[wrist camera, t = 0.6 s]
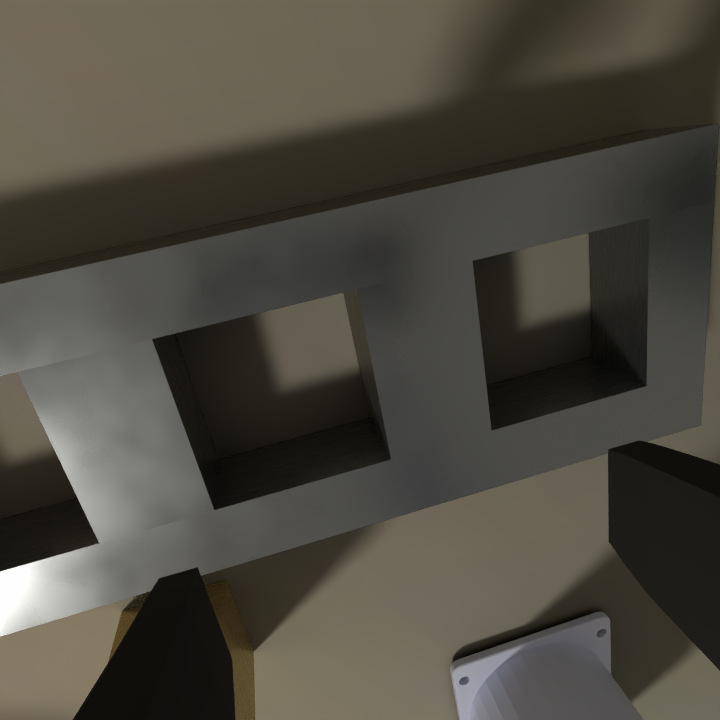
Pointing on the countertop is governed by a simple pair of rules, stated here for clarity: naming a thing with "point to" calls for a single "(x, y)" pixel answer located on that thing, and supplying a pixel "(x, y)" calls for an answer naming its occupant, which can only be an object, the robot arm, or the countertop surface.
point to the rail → (375, 358)
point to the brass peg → (234, 639)
